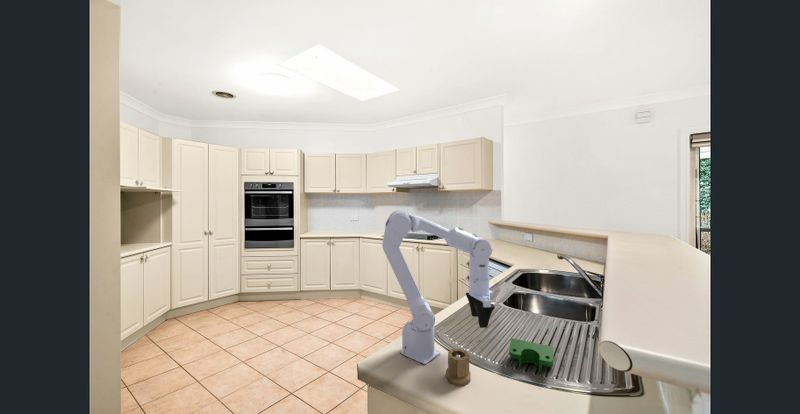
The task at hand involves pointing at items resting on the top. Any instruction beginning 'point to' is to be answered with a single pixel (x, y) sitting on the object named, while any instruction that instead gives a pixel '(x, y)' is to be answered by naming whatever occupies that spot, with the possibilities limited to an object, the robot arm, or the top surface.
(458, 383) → the walnut stand
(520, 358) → the clamp
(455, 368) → the bronze collar
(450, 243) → the robot arm
